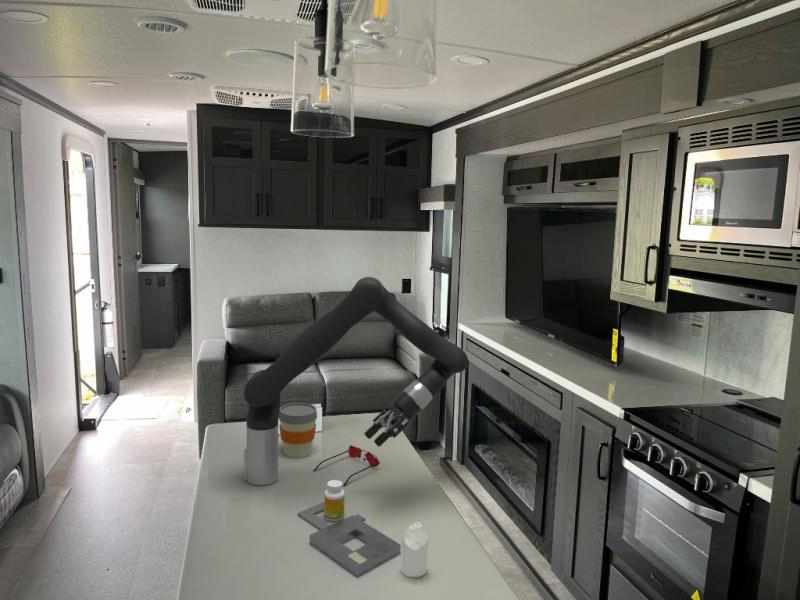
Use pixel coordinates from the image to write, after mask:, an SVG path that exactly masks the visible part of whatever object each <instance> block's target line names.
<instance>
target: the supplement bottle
mask: <svg viewBox="0 0 800 600" xmlns="http://www.w3.org/2000/svg"><path fill="white" fill-rule="evenodd" d="M326 484H327V485H326V488H327V489H326V490H325V491H324V494H323V495H324V500H323V502H324V511H323V516H324V519H325V520H327V521H328V522H339V521H341V520H343V518H344V517H345V496H346V495H345V493H346V492H345V490H344V489H343V481H342V480H338V479H331V480H329V481H327V483H326Z"/></svg>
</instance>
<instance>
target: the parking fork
mask: <svg viewBox="0 0 800 600" xmlns="http://www.w3.org/2000/svg"><path fill="white" fill-rule="evenodd" d="M322 512H323V513H324V501H323V502H320V503H318V504H316V505H313V506H310V507H309V508H306V509H304V510H302V511H299V512H297V513H296V515H297V516H298V517H300V518H301V519H302V520H304V521H306V523H308V524H310V525H311V526H313V527H314V528H316V529H317V530H318V531H319V530H322V529H324V528H326V527H328V526H330V525H331V524H330V523H328V522H327V521H325V520H324V519H322V518H321V517H319V516H318V514H321V513H322ZM353 516H354V517H356V518H358V519H359V520H361V521H363V522H365V521H366V518H365V517H364V516H362V515H360V514H358V513H356V514H354V515H353Z"/></svg>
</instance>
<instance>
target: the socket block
mask: <svg viewBox="0 0 800 600" xmlns="http://www.w3.org/2000/svg"><path fill="white" fill-rule="evenodd" d="M354 538H357V539H359V540H360V541H361V542H363V543H364V544H365V545H363V546H361V547H359V548H357V549H355V550H352V549H351V548H350V547H348V546H346V545H345V543H346V542H348V541H351V540H353V539H354ZM309 544H311V546H313V547H315V548H316V549H318V550H319V551H321V553H323V554H324V555H325V556H327V557H329V558H330V559H332V560H333V561H334V562H336V563H337V564H338V565H340V566H341V567H342V568H344V569H345V570H347V571H348V572H350V573H351V574H353V575H354V576H356V577H357V578H358V577H360V576H362V575H363V574H365V573H367V572H369V571H371V570H372V569H374V568H376V567H377V566H380V565H381V564H383V563H385V562H386V561H389V560H391V559H392V558H394V557H396V556H397V555H399V554H401V550H402V549H401V548H402V544H400V543H399V542H398V541H395V540H393V539H392V538H390V537H388V536H387V535H385V534H384V533H382V532H381V531H379V530H378V529H376V528H374V527H372V526H370V525H369V524H368V523H366V522H365V521H361V520H359V519H358V518H356V517H354V515H350V516H348V517H346V518H344V519H343V518H342V519H341V520H339V521H336V522H335V523H332V524H330V526H328V527H326V528H324V529H322V530H319V529H318V531H316V532H313V533H311V534H309Z"/></svg>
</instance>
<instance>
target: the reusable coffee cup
mask: <svg viewBox="0 0 800 600" xmlns="http://www.w3.org/2000/svg"><path fill="white" fill-rule="evenodd" d="M317 411H318V410H317V407H316V406H314V405H313V404H309V403H304V402H293V403H288V404H284V405H282V406H280V412H279V419H278V421H279V425H278V428H279V434H280V440H281V442H282V447H283V454H284V455H285V456H286V457H288V458H297V459H298V458H300V459H301V458H304V457H307V455H308V456H309V455H310V454H311V453H312V448H313V441H314V439H315V434H316V428H317V424H316V420H317V418H318V413H317Z"/></svg>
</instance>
